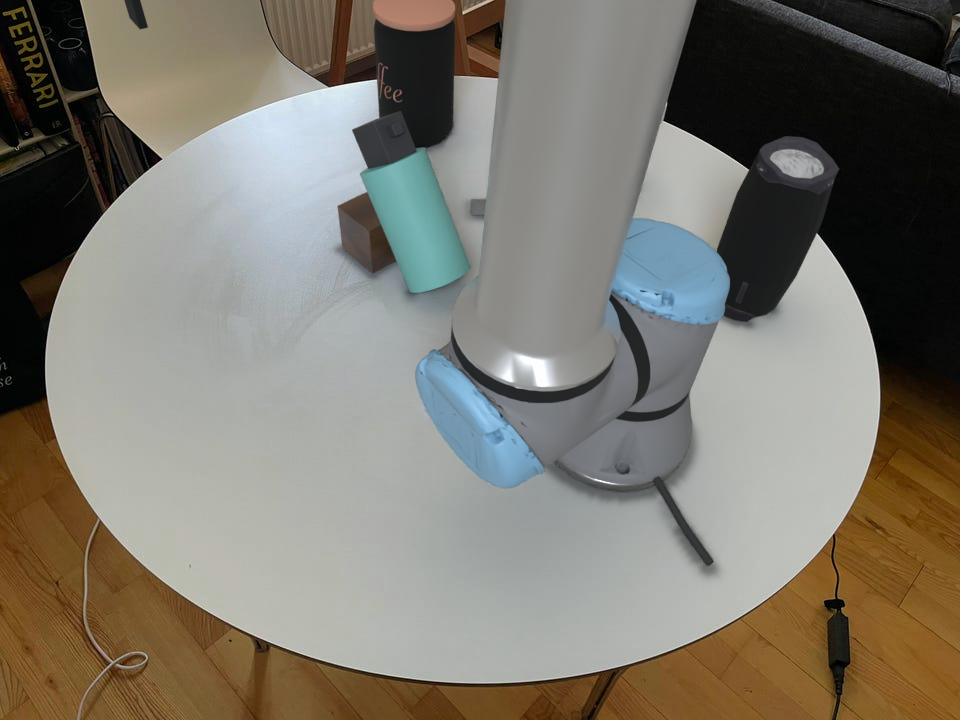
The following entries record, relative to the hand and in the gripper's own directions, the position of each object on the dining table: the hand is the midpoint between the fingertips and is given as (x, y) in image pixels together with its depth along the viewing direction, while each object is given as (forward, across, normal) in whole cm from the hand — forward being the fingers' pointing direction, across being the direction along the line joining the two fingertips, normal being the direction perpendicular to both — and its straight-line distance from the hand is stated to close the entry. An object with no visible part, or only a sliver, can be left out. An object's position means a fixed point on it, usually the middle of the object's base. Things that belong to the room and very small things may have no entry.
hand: (209, 6), depth 72 cm
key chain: (+28, -28, +15) cm, 43 cm away
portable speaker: (+28, -42, +41) cm, 65 cm away
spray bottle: (+28, -12, +16) cm, 35 cm away
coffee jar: (+28, -29, -10) cm, 42 cm away
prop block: (+28, -12, +10) cm, 32 cm away
